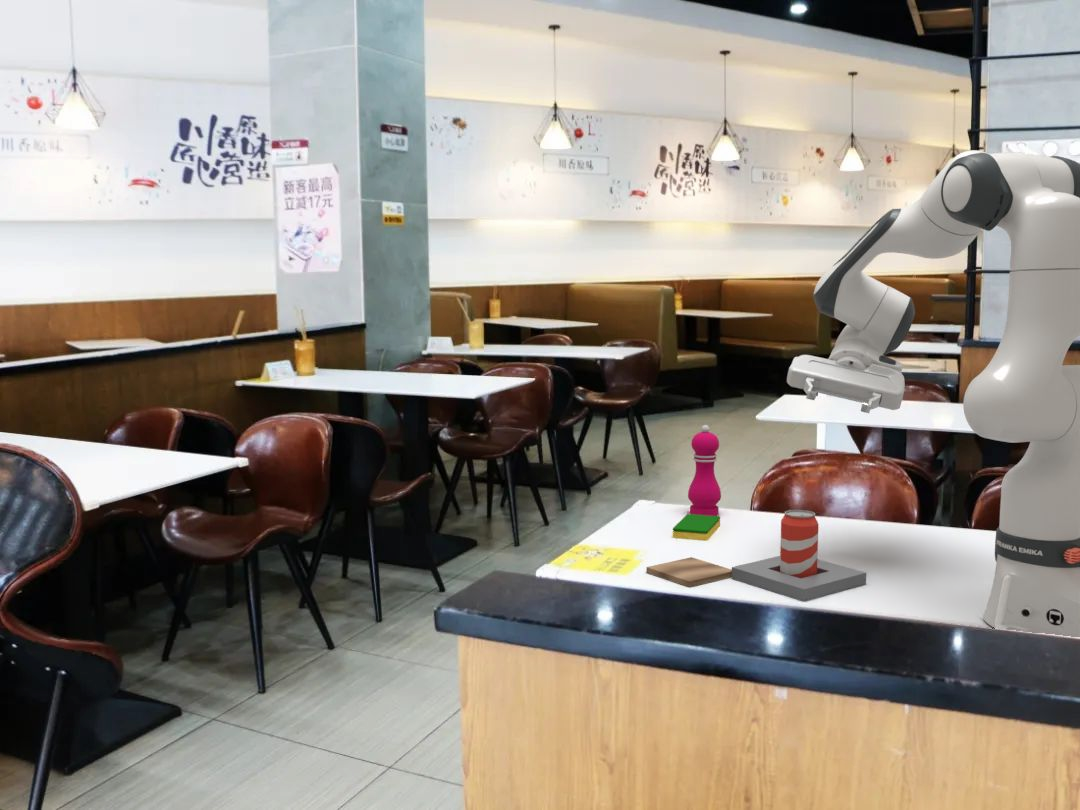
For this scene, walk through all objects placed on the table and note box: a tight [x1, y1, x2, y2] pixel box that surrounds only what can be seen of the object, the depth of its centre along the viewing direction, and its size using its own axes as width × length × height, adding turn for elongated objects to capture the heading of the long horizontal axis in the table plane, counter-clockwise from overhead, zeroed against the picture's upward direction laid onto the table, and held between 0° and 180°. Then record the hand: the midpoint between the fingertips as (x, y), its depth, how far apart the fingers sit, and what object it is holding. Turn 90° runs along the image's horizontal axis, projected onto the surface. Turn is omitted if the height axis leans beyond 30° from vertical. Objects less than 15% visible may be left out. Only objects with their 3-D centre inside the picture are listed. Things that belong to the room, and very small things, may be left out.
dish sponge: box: [672, 513, 721, 542], centre depth 213 cm, size 7×14×2 cm, turn 159°
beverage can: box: [779, 509, 819, 578], centre depth 177 cm, size 6×6×12 cm
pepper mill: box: [687, 424, 722, 516], centre depth 227 cm, size 7×7×20 cm
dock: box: [730, 555, 867, 602], centre depth 178 cm, size 16×16×2 cm
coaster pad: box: [645, 556, 732, 588], centre depth 182 cm, size 11×11×1 cm
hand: (837, 402), depth 180 cm, fingers open, 8 cm apart
